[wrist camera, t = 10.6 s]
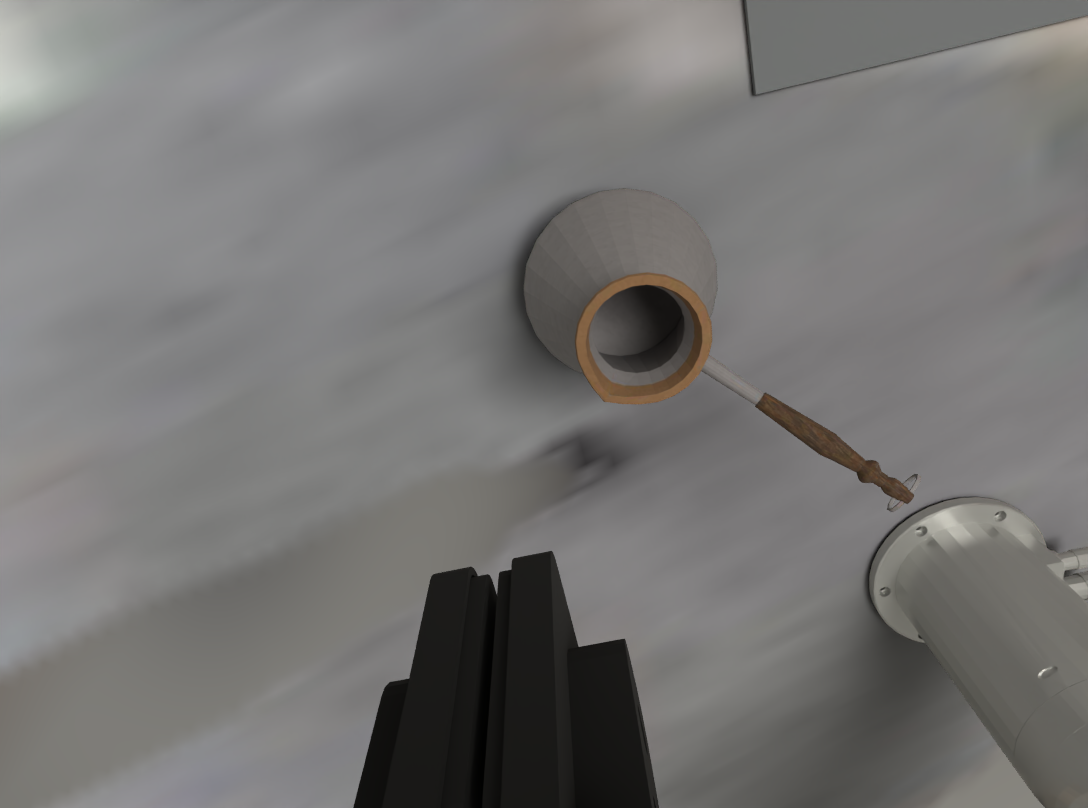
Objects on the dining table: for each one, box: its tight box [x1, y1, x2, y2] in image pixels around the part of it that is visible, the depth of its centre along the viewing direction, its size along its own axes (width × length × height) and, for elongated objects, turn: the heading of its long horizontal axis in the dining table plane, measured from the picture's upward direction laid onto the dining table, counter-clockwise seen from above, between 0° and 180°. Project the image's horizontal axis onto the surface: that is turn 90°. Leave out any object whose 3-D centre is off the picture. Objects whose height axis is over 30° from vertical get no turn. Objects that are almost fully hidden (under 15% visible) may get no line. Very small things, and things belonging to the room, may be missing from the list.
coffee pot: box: [523, 188, 921, 512], centre depth 40 cm, size 21×12×15 cm, turn 60°
